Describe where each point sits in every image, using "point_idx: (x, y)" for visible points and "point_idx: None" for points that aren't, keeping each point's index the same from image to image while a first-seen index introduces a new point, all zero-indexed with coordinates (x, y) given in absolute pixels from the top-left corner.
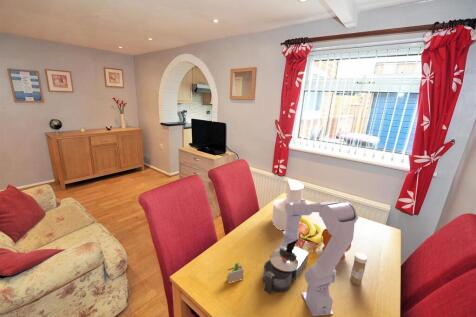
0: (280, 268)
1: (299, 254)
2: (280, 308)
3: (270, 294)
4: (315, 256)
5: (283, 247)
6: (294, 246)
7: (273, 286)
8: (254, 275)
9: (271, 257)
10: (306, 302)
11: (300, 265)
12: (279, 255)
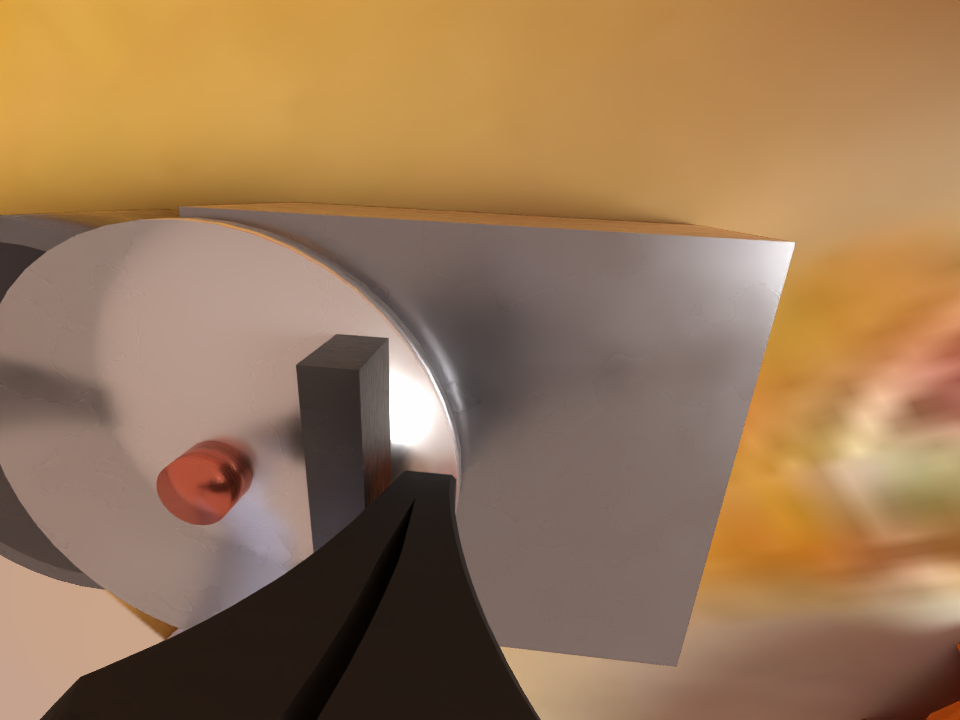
0: (24, 489)
1: (556, 582)
2: None
3: None
4: (797, 580)
5: (571, 316)
6: (720, 474)
7: None
8: (38, 111)
9: (78, 271)
10: None
11: None
12: (243, 373)
